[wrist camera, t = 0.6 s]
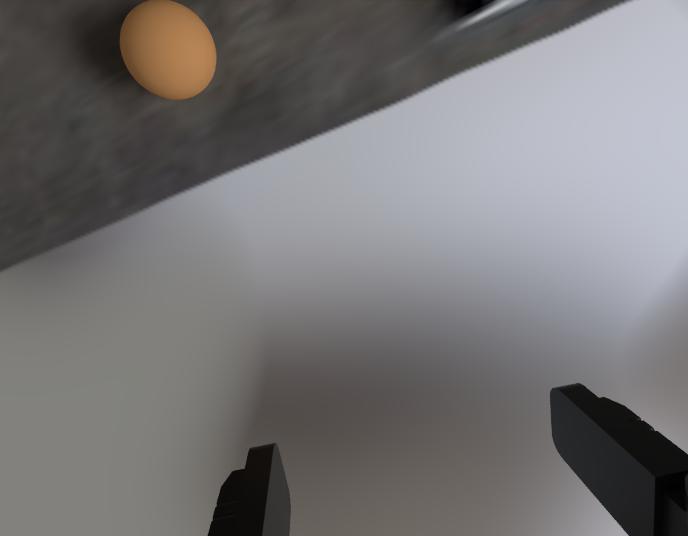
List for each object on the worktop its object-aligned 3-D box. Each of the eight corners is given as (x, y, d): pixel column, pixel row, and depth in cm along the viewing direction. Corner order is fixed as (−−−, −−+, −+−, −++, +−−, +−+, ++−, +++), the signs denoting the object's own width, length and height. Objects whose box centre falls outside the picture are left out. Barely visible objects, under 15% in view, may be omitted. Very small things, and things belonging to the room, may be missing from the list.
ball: (126, 73, 29) (95, 76, 24) (147, -13, 27) (118, -30, 22) (206, 110, 30) (193, 119, 25) (232, 31, 28) (223, 25, 24)
